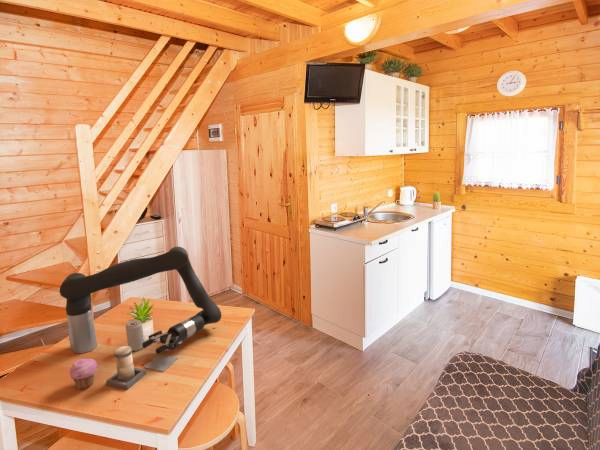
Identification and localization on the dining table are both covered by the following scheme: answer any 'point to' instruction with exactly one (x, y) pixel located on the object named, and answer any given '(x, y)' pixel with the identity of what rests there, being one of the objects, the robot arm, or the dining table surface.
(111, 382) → the socket collar
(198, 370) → the dining table surface
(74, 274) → the robot arm
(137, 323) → the beverage can
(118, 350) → the beige tall cylinder
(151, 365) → the mat
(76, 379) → the cupcake
